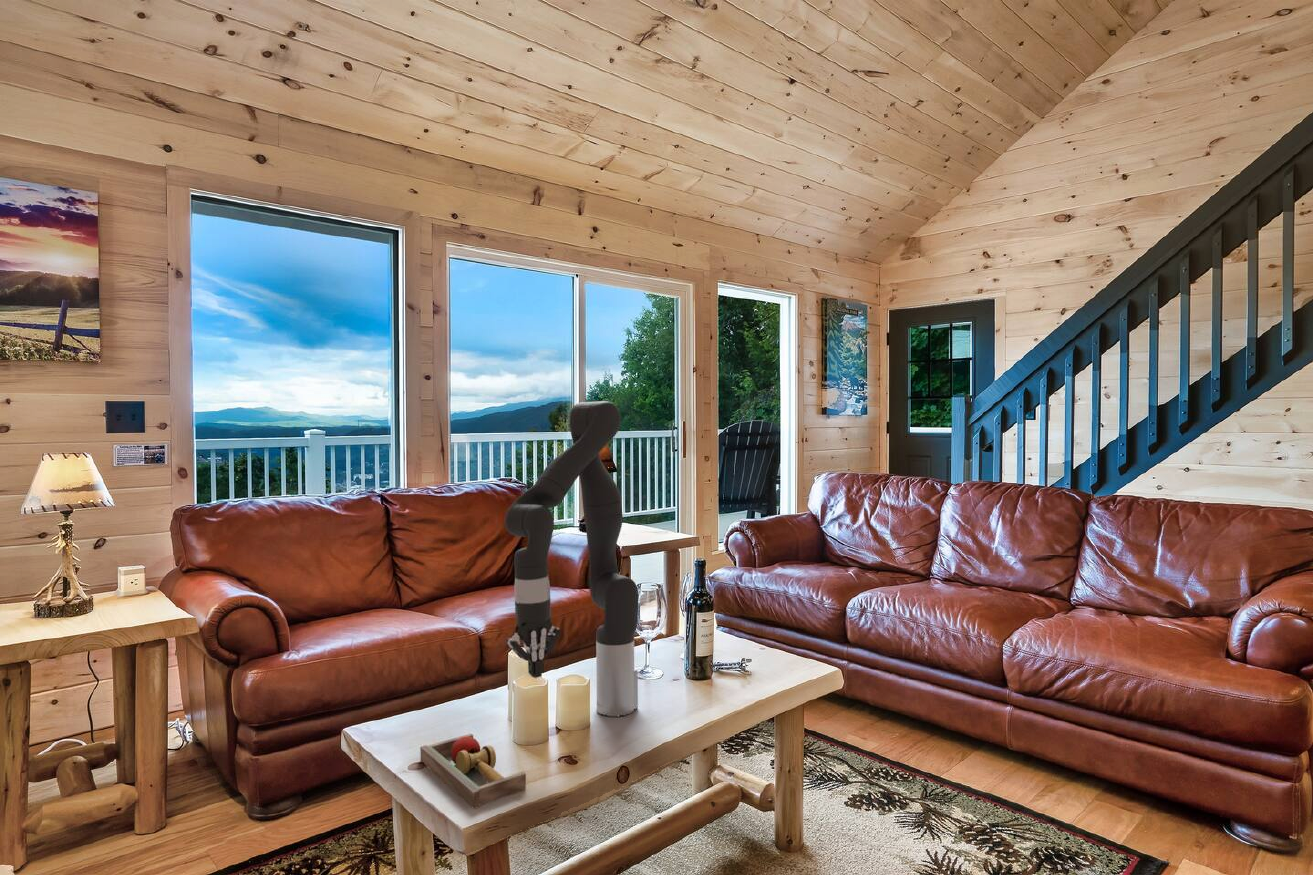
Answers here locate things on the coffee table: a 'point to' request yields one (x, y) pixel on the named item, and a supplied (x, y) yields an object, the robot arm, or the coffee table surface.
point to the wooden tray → (462, 783)
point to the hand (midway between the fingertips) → (535, 676)
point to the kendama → (475, 758)
